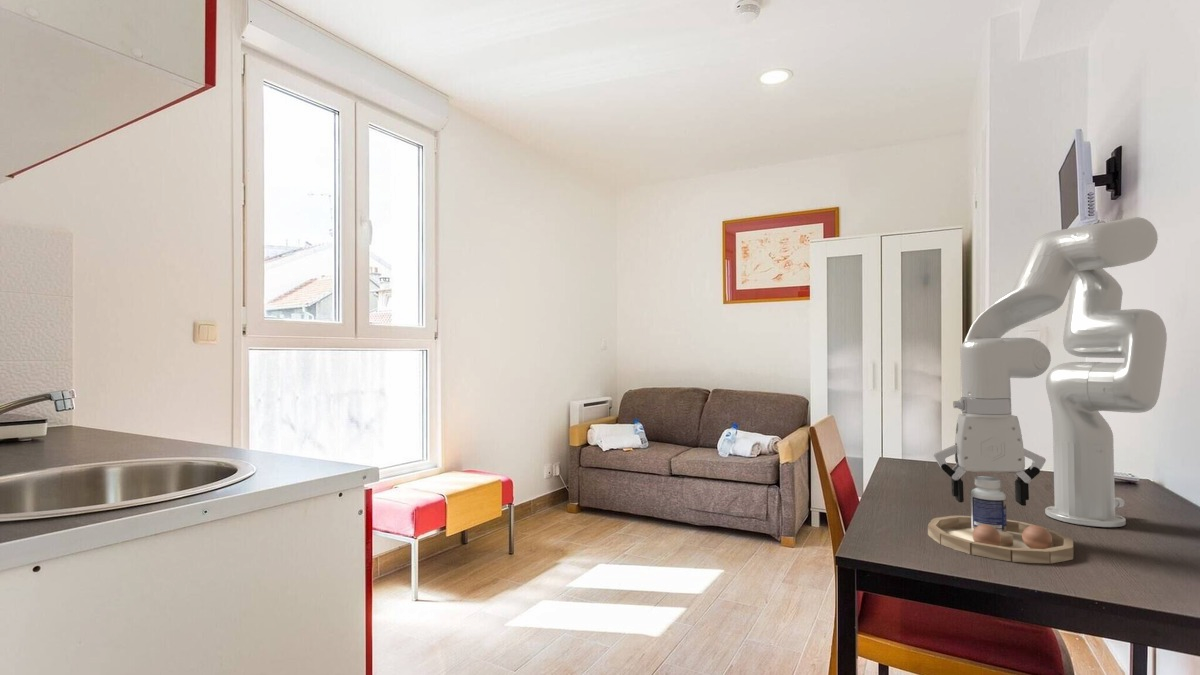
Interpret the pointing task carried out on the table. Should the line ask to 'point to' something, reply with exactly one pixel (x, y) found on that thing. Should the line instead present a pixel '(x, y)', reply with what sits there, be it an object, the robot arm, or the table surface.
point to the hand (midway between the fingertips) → (989, 502)
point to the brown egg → (986, 535)
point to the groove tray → (1011, 548)
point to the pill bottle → (988, 504)
